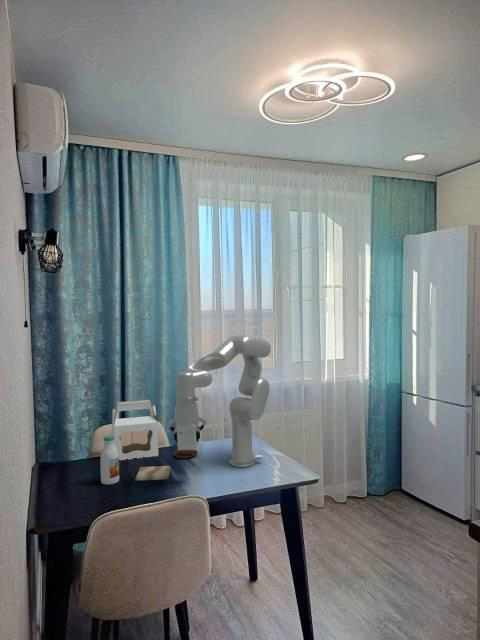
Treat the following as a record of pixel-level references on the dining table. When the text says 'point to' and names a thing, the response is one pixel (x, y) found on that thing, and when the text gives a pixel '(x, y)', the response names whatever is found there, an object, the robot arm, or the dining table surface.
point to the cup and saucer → (185, 453)
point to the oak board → (153, 473)
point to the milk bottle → (109, 461)
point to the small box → (187, 437)
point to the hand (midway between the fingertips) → (187, 441)
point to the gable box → (135, 425)
